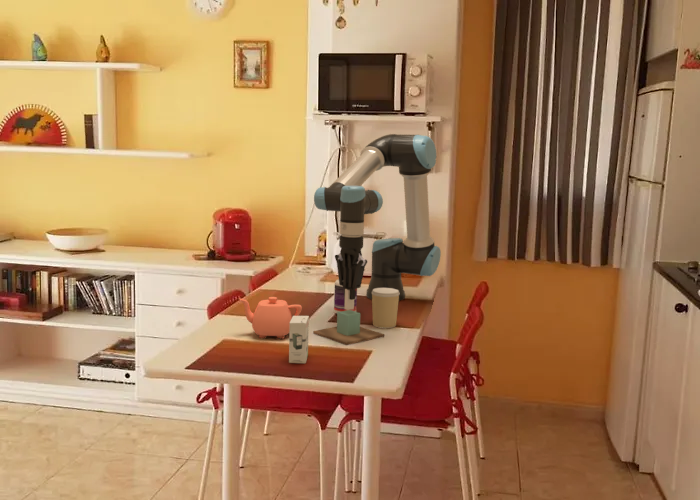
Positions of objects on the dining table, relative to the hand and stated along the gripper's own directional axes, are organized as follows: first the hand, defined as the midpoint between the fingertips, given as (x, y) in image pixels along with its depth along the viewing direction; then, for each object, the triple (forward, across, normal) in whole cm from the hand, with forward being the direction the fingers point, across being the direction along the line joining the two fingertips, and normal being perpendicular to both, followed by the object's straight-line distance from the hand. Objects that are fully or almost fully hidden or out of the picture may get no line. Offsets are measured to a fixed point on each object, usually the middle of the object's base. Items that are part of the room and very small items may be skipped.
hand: (349, 308), depth 240 cm
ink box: (+9, +10, -28) cm, 31 cm away
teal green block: (+8, 0, 0) cm, 8 cm away
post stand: (+9, 0, 0) cm, 9 cm away
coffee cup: (+9, -2, +18) cm, 20 cm away
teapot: (+9, -15, -20) cm, 26 cm away
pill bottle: (+9, -22, +18) cm, 30 cm away
